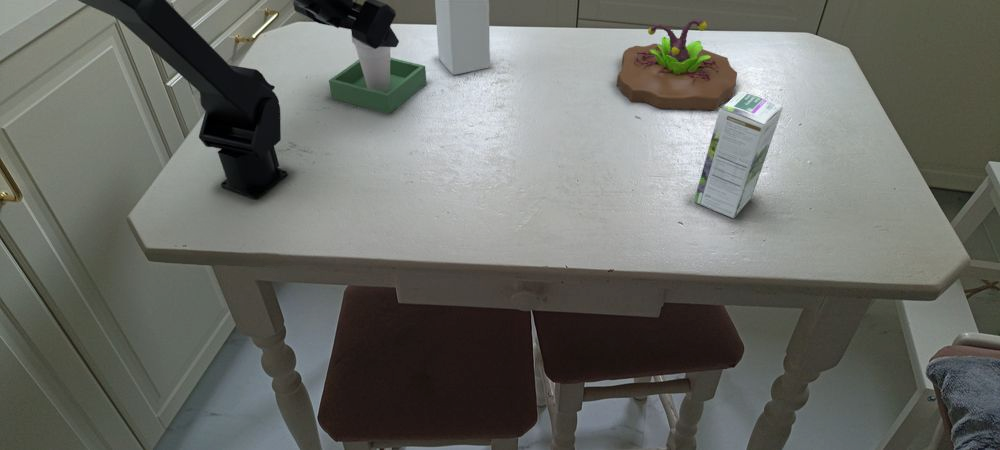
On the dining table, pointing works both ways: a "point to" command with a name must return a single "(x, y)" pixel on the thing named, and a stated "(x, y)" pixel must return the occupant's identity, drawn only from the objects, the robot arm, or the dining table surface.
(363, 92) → the caddy
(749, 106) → the syrup box
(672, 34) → the plant
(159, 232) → the dining table surface
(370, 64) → the smoothie
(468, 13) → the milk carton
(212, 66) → the robot arm
